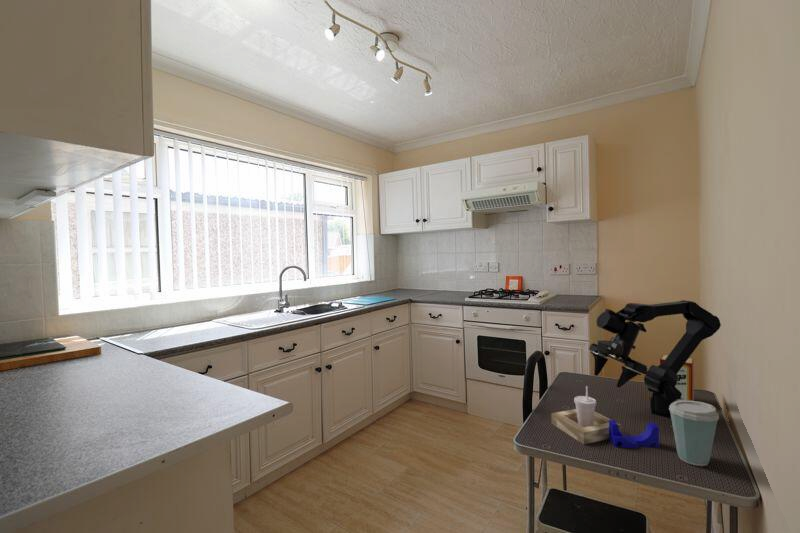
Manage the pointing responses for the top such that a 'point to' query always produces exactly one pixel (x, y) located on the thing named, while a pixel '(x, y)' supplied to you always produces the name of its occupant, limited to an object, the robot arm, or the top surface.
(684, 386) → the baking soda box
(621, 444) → the cable clip
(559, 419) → the bottle stand
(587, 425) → the smoothie
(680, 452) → the disposable coffee cup
